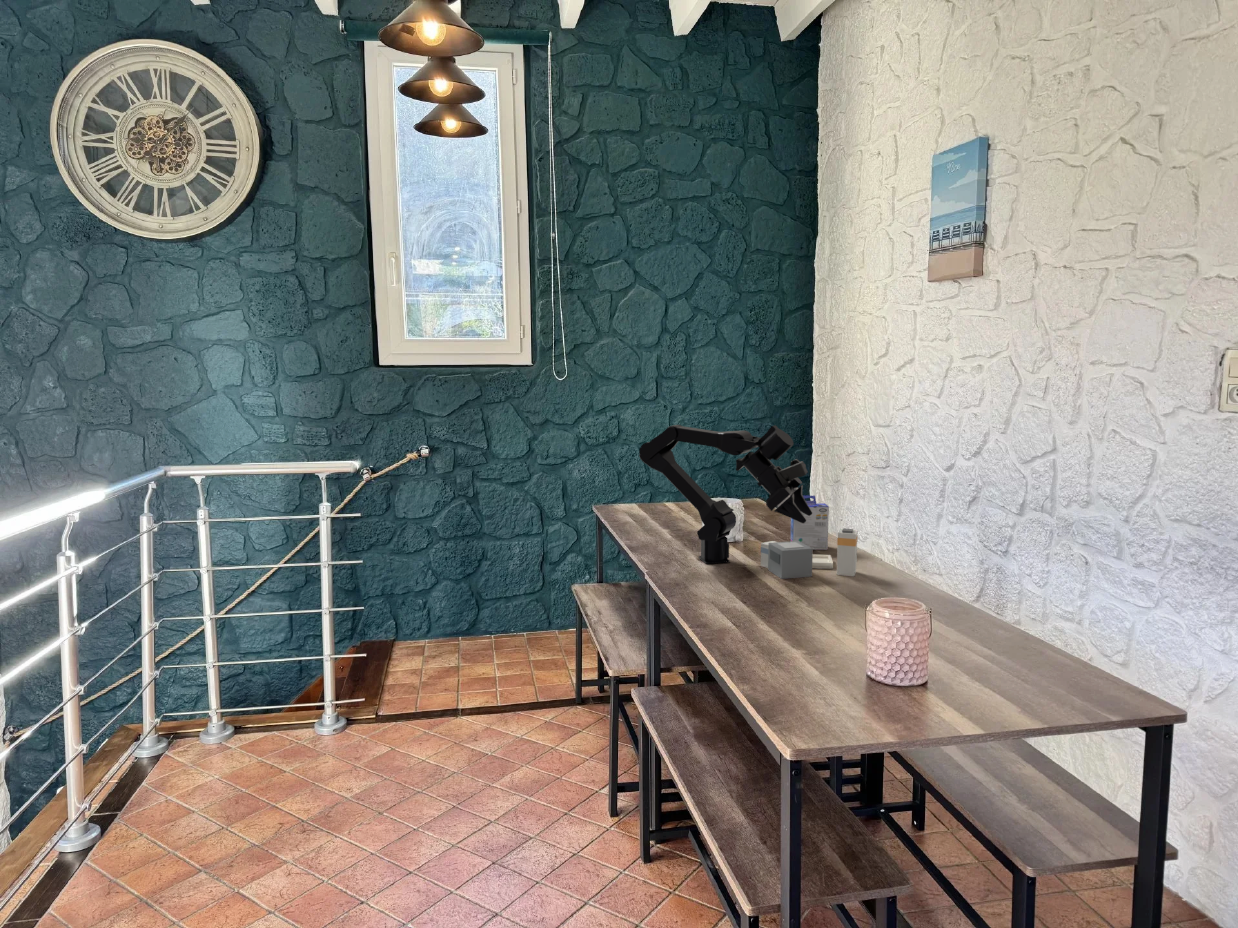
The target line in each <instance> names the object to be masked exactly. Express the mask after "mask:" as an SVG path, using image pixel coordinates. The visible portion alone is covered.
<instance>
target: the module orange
mask: <svg viewBox="0 0 1238 928" xmlns="http://www.w3.org/2000/svg"><path fill="white" fill-rule="evenodd" d="M858 536H859V535H858V530H857V529H856V530H854V528H842V529H841V528H840V529H839V530H838V532H837V540H836V544H837V548H836V549H837V550H836V552H837V553H836V575H837V576H838V575H839V576H847V577H855V576H856V573H857V555H858Z"/></svg>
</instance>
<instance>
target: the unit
mask: <svg viewBox="0 0 1238 928" xmlns="http://www.w3.org/2000/svg"><path fill="white" fill-rule="evenodd" d="M812 557H813V548H811V547H809V546H807V545H805V544H803V543H801V542H799V541H791V540H790V541H776V542H774V543H769V548H768V568H767V570H768V572H770V573H772V574H773V575H775V576H776V577H778V578H780V579H781V580H785V579H797V578H811V577H813V568H812Z"/></svg>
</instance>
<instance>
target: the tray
mask: <svg viewBox="0 0 1238 928" xmlns="http://www.w3.org/2000/svg"><path fill="white" fill-rule="evenodd" d="M812 569H822V570H823V569H826V570H828V569H829V570H834V562H833V559H832V555H831V554H813V557H812Z"/></svg>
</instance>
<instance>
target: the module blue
mask: <svg viewBox="0 0 1238 928" xmlns="http://www.w3.org/2000/svg"><path fill="white" fill-rule="evenodd" d="M774 542H777V541H775V540H770V541H765V542H760V567H762V568H763V567H764V568H766V569H768V548H769V543H774Z"/></svg>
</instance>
